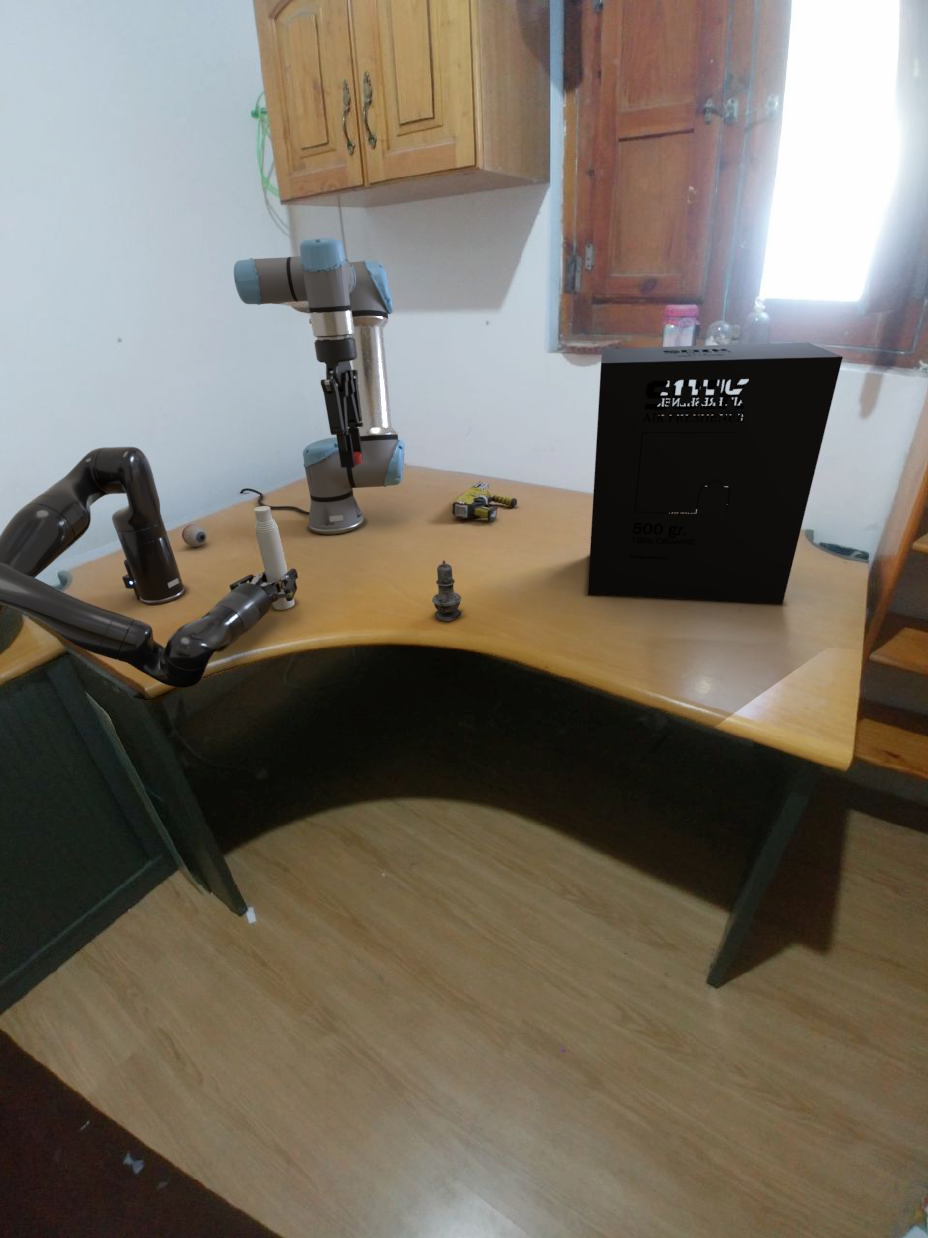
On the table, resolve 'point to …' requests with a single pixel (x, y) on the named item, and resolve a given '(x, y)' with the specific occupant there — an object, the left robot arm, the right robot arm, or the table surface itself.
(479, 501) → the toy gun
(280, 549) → the bottle
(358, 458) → the cap
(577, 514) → the table surface
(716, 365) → the cardboard box
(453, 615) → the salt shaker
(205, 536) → the eyeball
